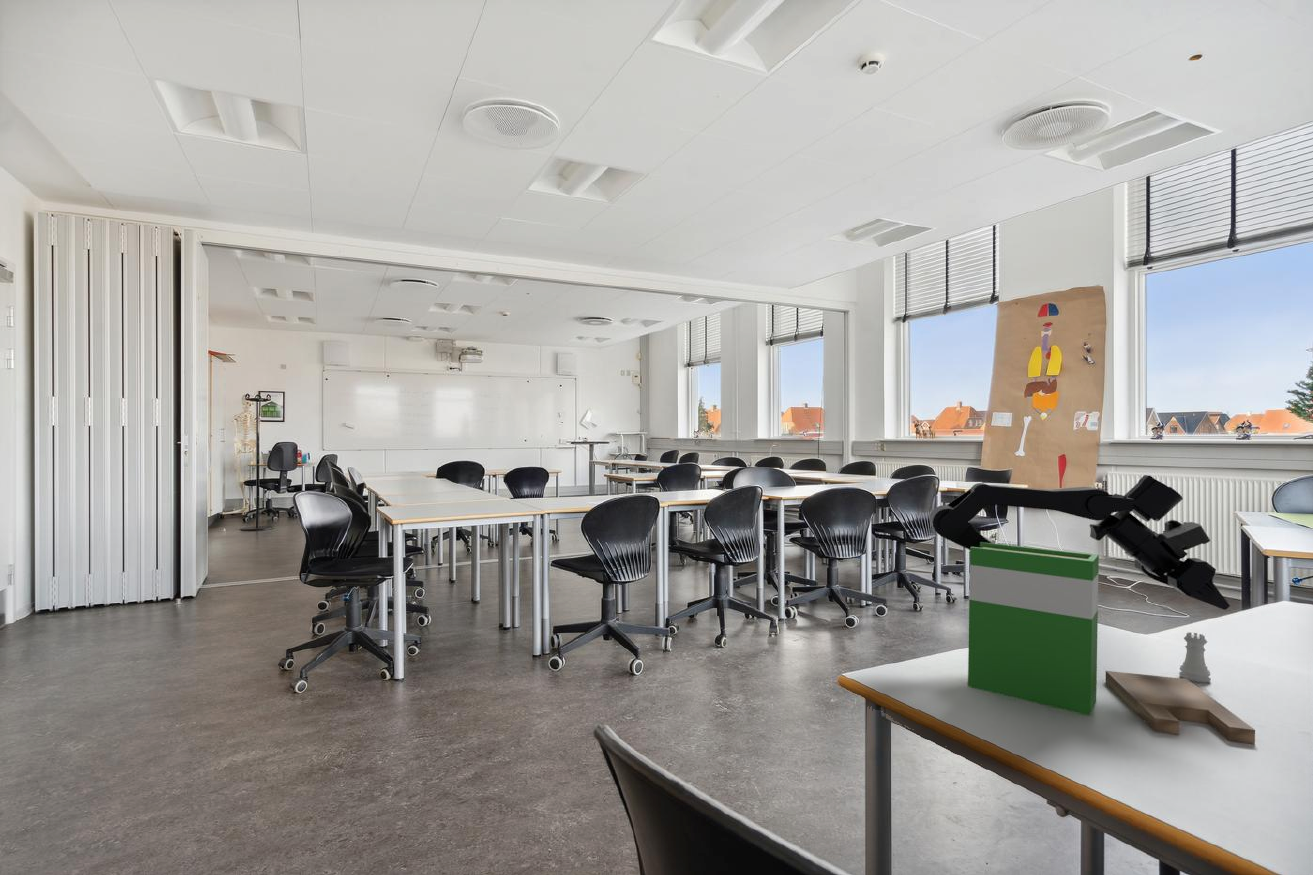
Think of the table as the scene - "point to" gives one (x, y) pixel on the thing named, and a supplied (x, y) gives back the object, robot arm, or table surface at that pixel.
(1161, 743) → the table surface
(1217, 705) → the notched board
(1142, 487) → the robot arm
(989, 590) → the green open box
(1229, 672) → the table surface
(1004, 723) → the table surface
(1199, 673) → the rook chess piece
